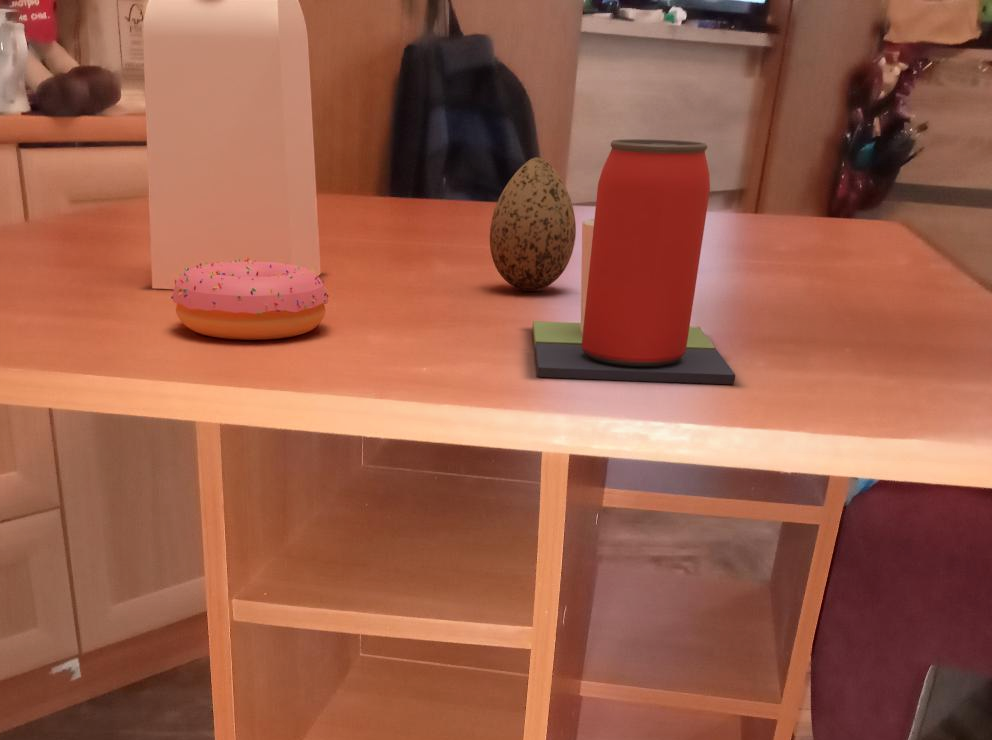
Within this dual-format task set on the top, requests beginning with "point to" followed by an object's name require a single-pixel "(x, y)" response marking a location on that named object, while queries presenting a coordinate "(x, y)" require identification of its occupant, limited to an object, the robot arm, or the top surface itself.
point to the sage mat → (573, 336)
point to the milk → (228, 135)
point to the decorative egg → (533, 227)
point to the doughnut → (250, 300)
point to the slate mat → (580, 366)
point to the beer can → (645, 252)
